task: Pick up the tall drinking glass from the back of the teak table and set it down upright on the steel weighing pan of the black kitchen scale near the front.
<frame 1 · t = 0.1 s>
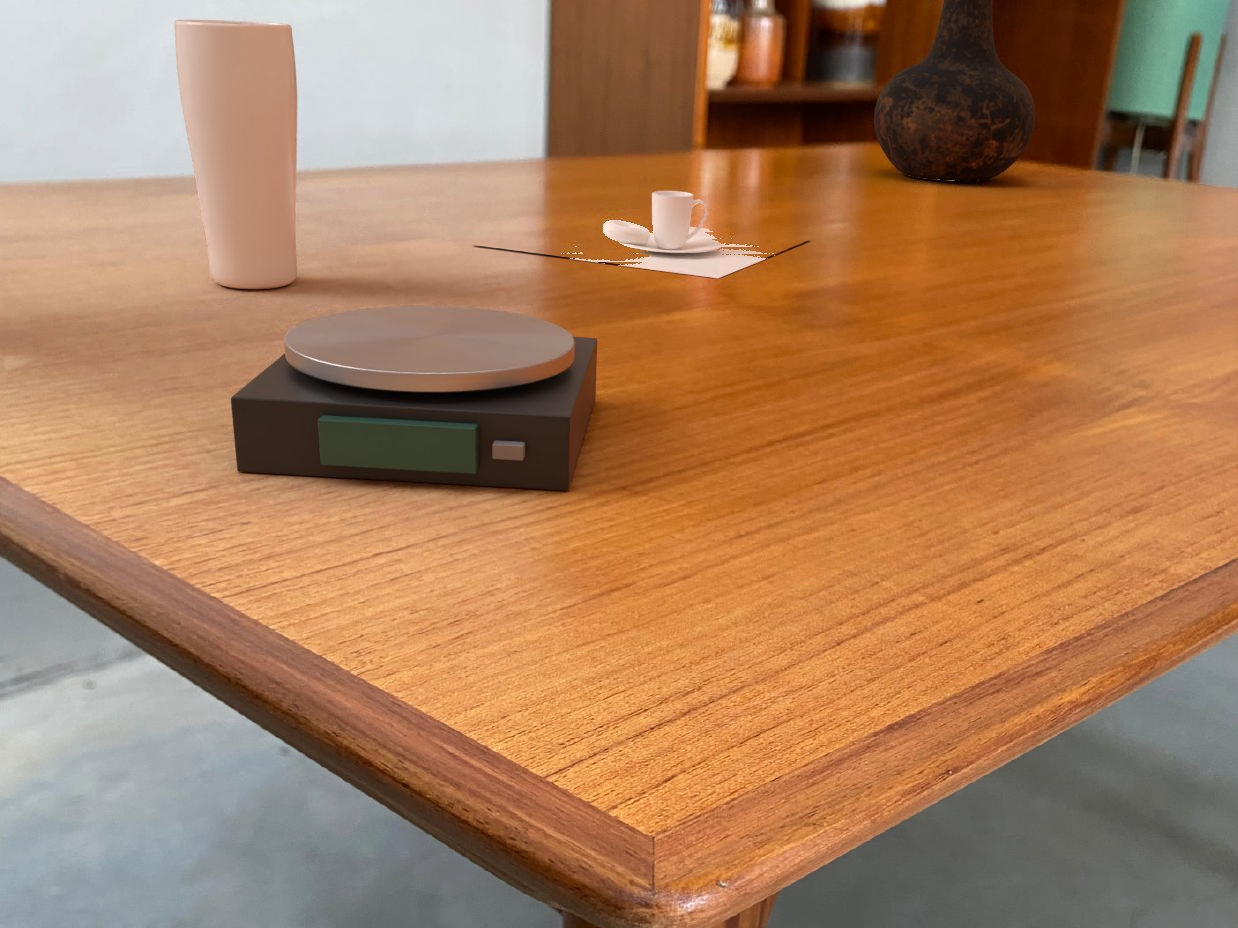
teacup and saucer: (648, 245, 104), on the table
scale pan: (431, 345, 56), point 4 cm above the table, slide at 0.0 cm
drinking glass: (254, 286, 84), on the table
scale: (433, 432, 57), on the table
rusty bud vase: (945, 179, 153), on the table
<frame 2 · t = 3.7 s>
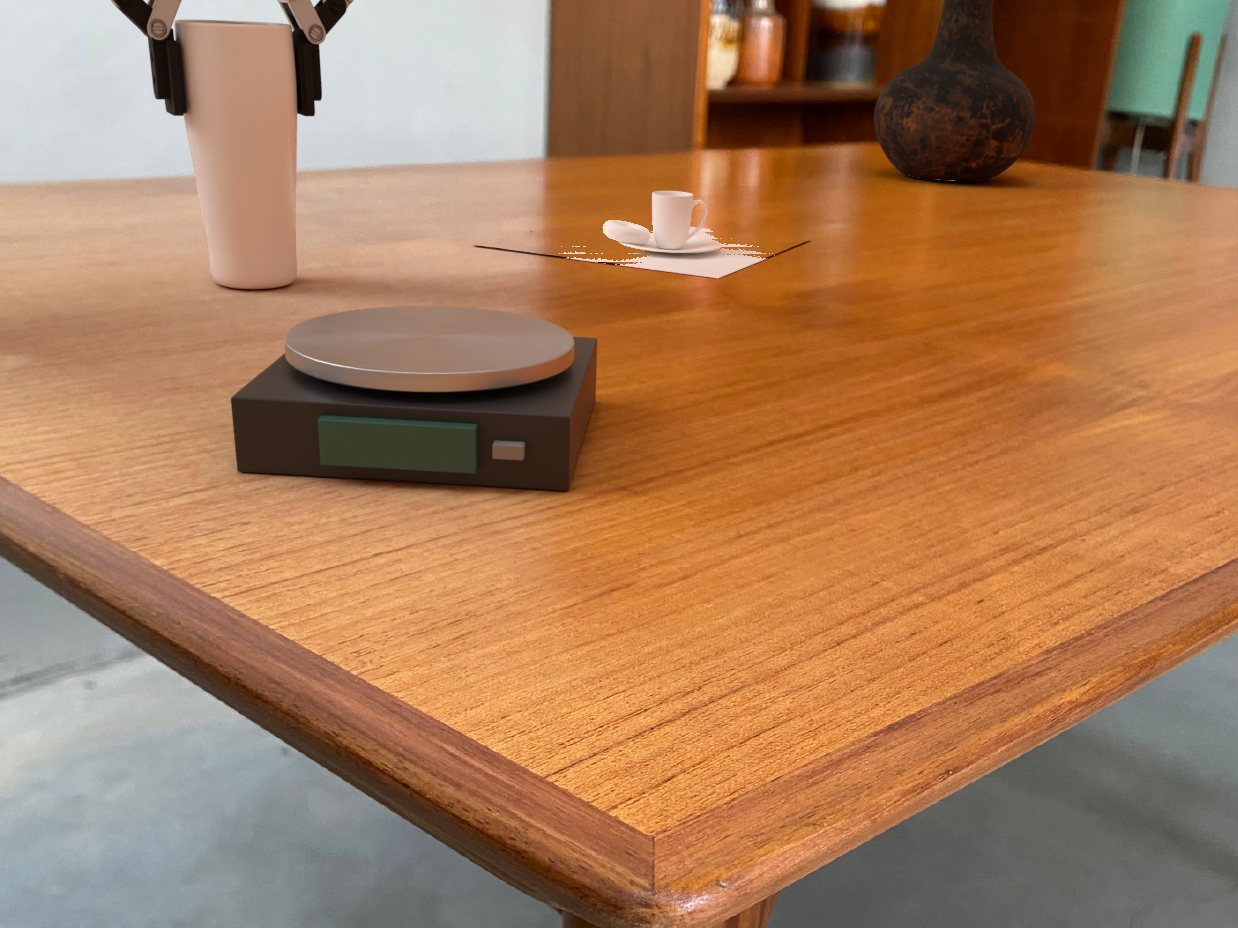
hand: (240, 111, 79), 10 cm above the table, tool pointing down, fingers closed on drinking glass, 6 cm apart
drinking glass: (254, 286, 84), on the table, touching gripper
everything else where it was.
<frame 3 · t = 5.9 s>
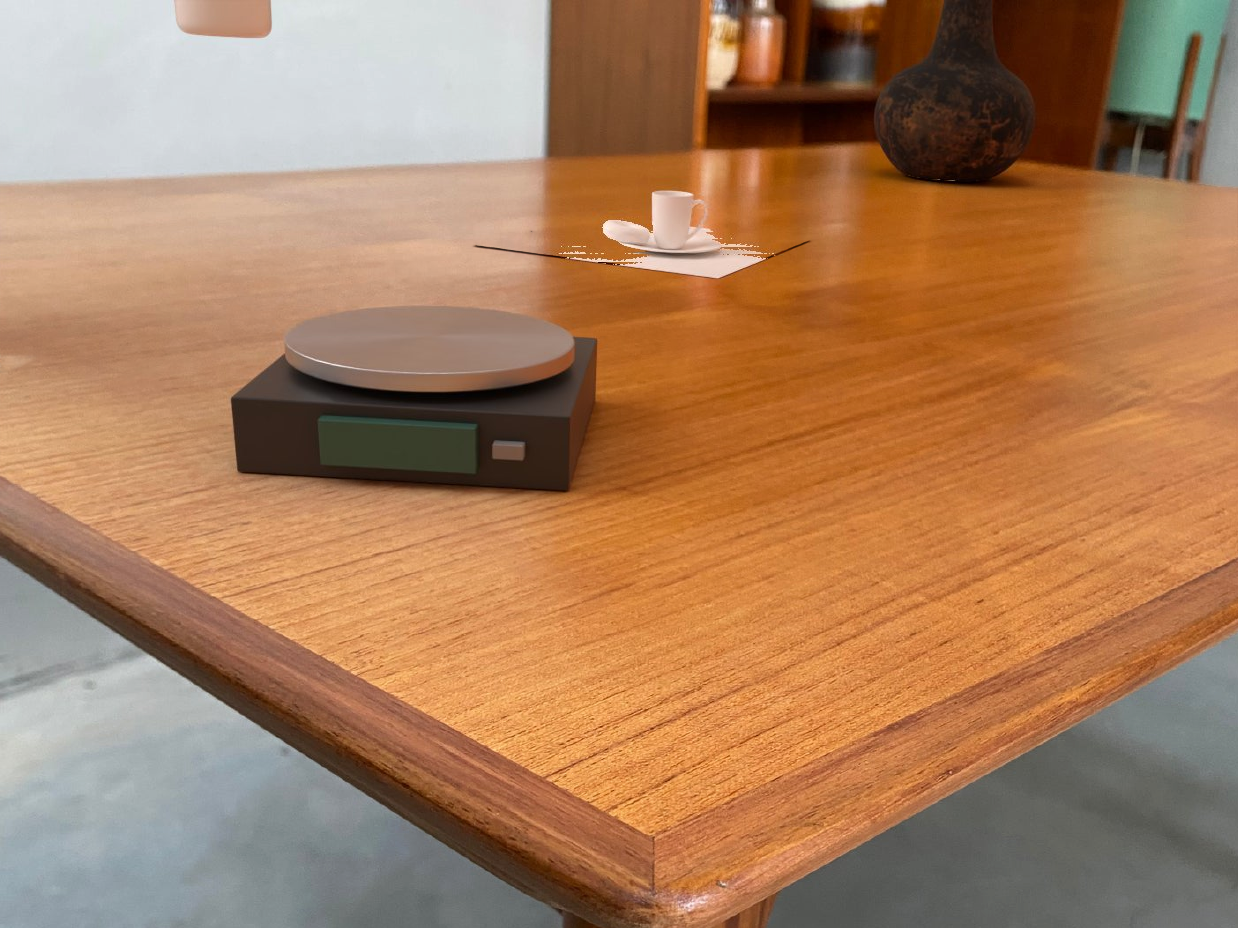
drinking glass: (225, 39, 77), point 14 cm above the table, touching gripper
everything else where it was.
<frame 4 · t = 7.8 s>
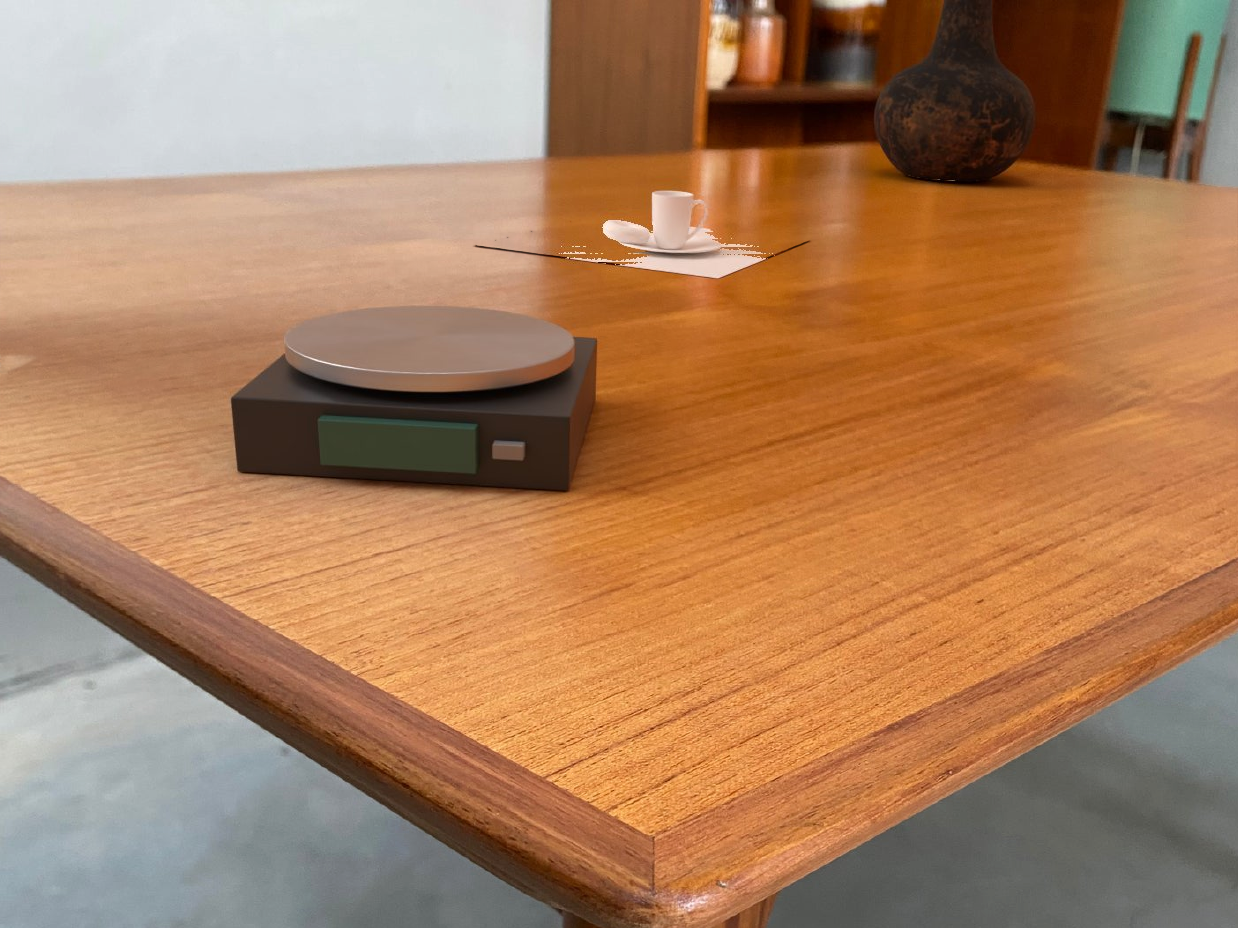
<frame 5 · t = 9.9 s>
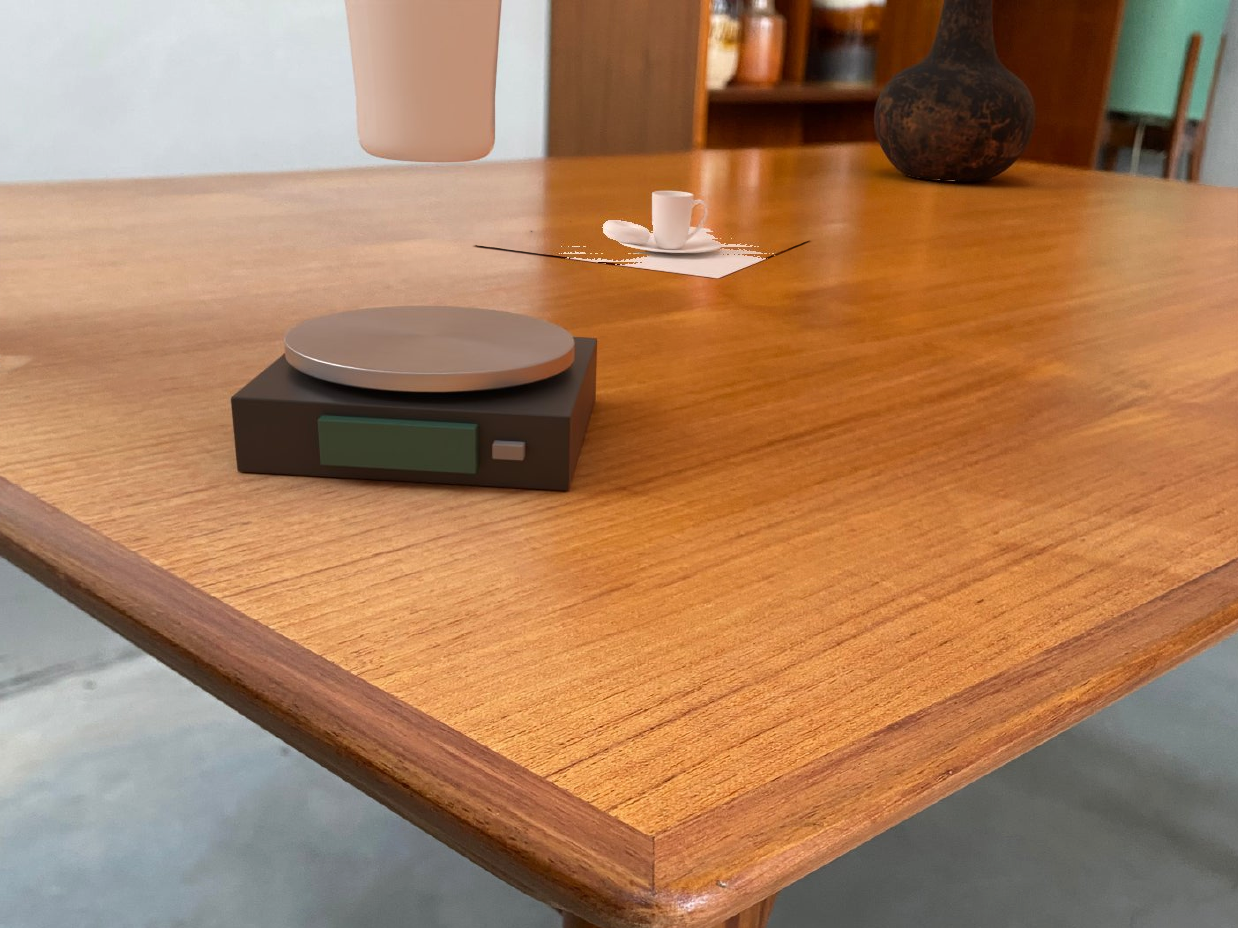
drinking glass: (427, 161, 52), point 11 cm above the table, touching gripper
everything else where it was.
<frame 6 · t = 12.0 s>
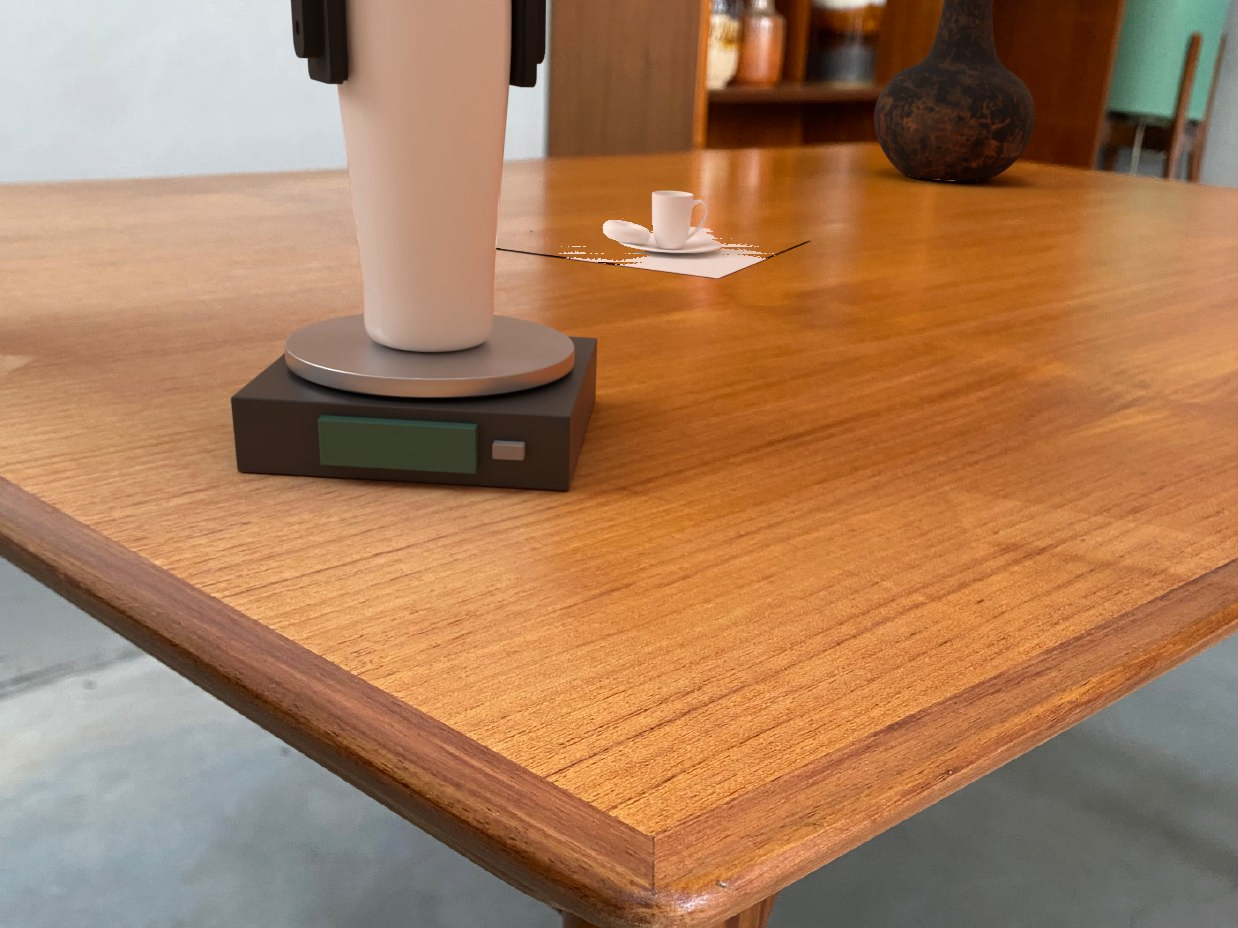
hand: (423, 79, 51), 14 cm above the table, tool pointing down, fingers closed on drinking glass, 6 cm apart
scale pan: (431, 350, 56), point 4 cm above the table, slide at -0.2 cm, touching drinking glass
drinking glass: (429, 345, 56), point 4 cm above the table, touching gripper, scale pan
everything else where it was.
when the fingers open (14 cm above the table, at t = 12.1 s): drinking glass stays where it is, resting on scale pan.
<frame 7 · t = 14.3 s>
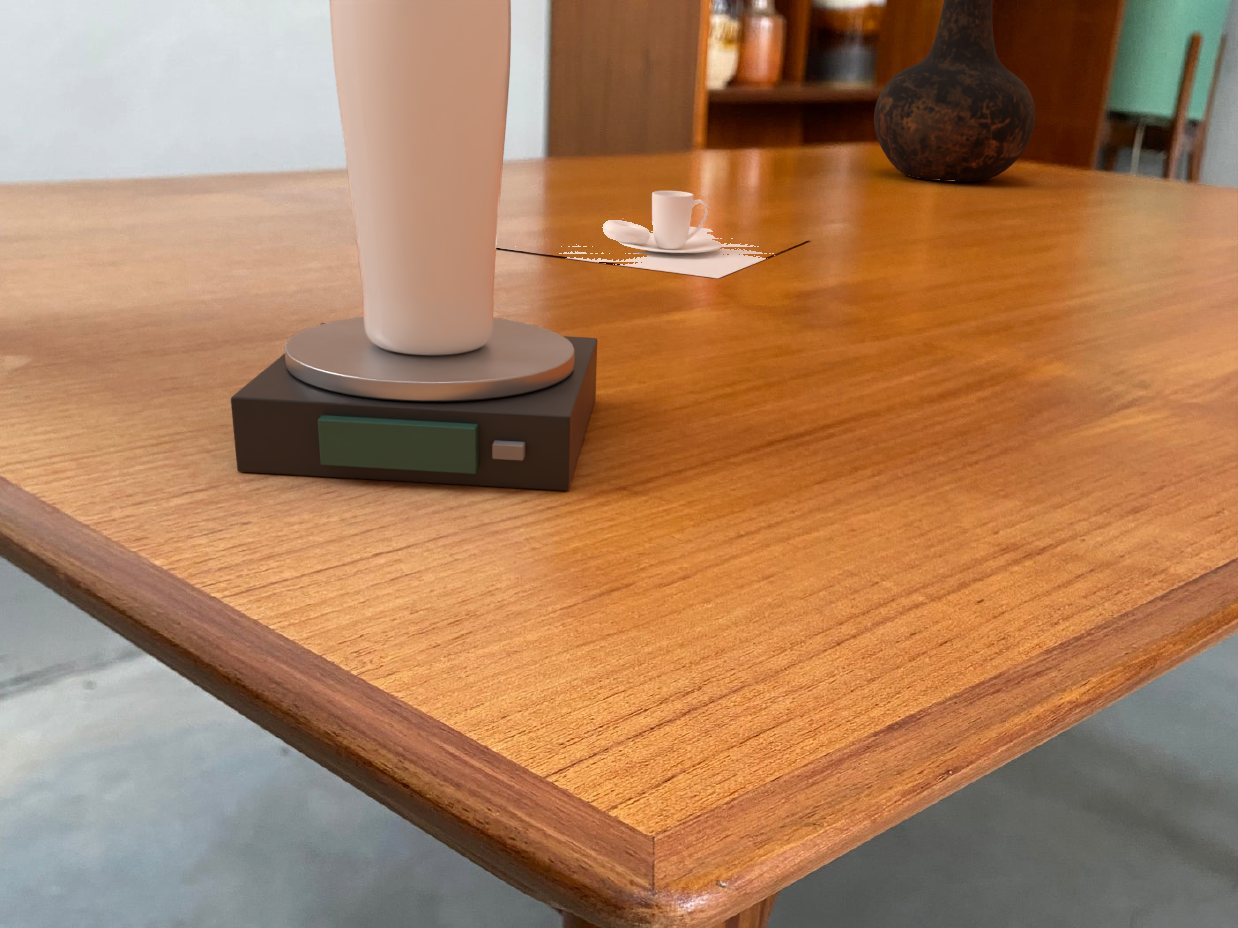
drinking glass: (429, 348, 56), point 4 cm above the table, touching scale pan
everything else where it was.
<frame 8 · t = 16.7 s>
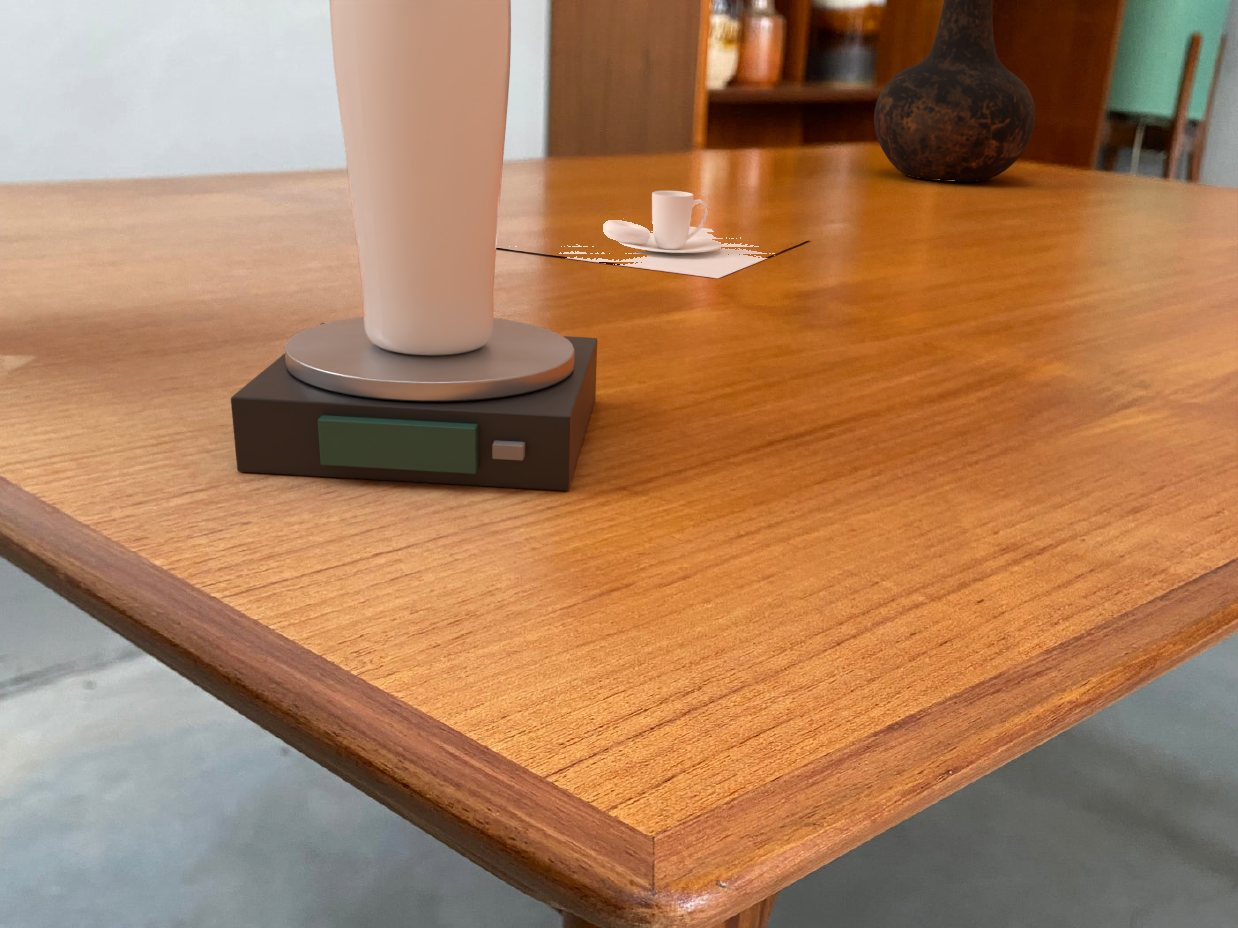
nothing on the table moved.
at the end: drinking glass inside the target area on the scale (0.1 cm from its centre), point 3.7 cm above the scale's base; drinking glass tilted 0°; drinking glass touching scale pan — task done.
